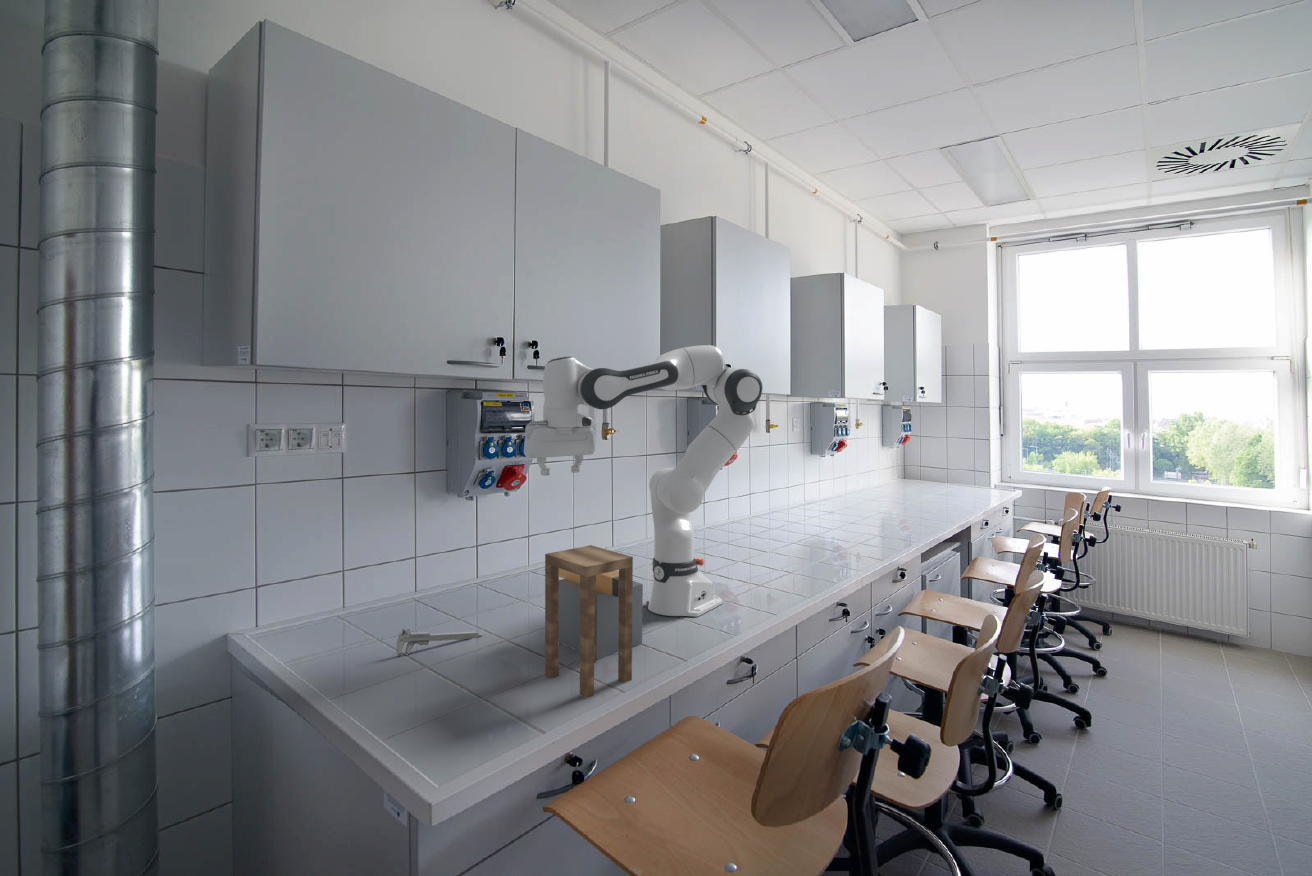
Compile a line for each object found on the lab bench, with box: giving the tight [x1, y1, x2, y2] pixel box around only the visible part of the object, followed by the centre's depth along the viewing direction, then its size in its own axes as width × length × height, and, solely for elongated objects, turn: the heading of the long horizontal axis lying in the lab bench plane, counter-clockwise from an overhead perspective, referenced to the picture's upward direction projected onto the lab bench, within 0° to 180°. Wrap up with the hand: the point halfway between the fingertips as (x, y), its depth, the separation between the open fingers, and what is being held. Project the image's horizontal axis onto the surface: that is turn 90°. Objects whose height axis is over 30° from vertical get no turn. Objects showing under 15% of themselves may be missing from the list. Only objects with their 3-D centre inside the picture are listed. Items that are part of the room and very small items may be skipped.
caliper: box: [396, 628, 484, 657], centre depth 149 cm, size 20×1×6 cm, turn 131°
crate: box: [559, 578, 644, 661], centre depth 152 cm, size 14×16×14 cm
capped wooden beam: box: [559, 568, 619, 597], centre depth 150 cm, size 4×24×4 cm, turn 44°
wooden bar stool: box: [544, 544, 634, 699], centre depth 132 cm, size 12×14×26 cm
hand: (560, 473), depth 163 cm, fingers open, 8 cm apart
